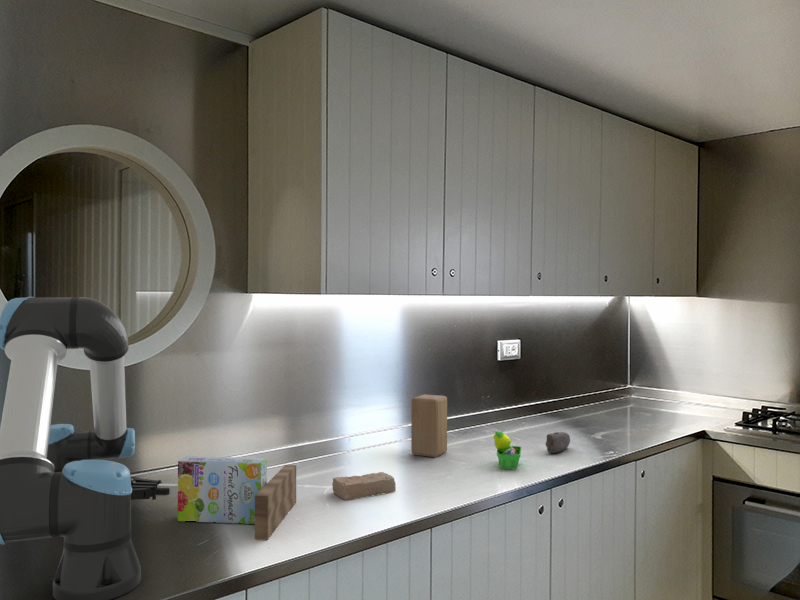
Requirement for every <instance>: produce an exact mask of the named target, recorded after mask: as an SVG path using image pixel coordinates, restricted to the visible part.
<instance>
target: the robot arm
mask: <svg viewBox="0 0 800 600" xmlns="http://www.w3.org/2000/svg"><path fill="white" fill-rule="evenodd" d="M0 349H1V350H3V351H4V353H5V355H6V357H7V358H8V359H9V360H10V364H9V365H10V366H9V371H8V372H9V373H8V379H7V384H6V389H5V398H4V403H3V410H2V415H1V421H0V545H6V544H11V543H12V544H13V543H18V542H26V541H34V540H35V541H36V540H43V539H52V538H59V537H62V538H63V551H62V554H61V557H60V560H59V563H58V566H57V569H56V572H55V574H54V578H53V581H52V596H53V598H54V599H55V600H113V599H116V598H118V597H121V596H123V595H125V594H128V593H130V592H131V591H132V590H134V589H135V588H136V587H138V586H139V584H140V583H141V580H142V567H141V563H140V561H139V559H138V555H137V552H136V550H135V546H134V544H133V542H132V501H136V500H149V499H151V498H152V501H155V500H157V497H172V498H173V497H174V498H175V497H176V498H178V483H162V480H161V479H159V480H156V479H147V478H140V477H139V478H138V477H136V476H131V471H130V469H129V468H128V466H126V465H125V464H123V463H119V462H116V461H114V460H113V459H116V460H117V459H123V458H128V457H132V456H134V455H135V451H136V430H135V429H134V428H133V427H132V428H131V427H127V404H126V375H125V374H126V373H125V372H126V371H125V356H127V355H128V353H129V337H128V333H127V330H126V328H125V326H124V324H123V322H122V321H121V319H120V317H119V316H118V315H117V314H116V313H115V312H114V311H113V310H112V309H111V308H110V307H109V306H107V305H106V304H104V303H103V302H101V301H99V300H97V299H95V298H91V297H85V296H84V297H83V296H79V297H35V296H27V297H14V298H12V299H10V300H8V301H7V302H6V304H5V305H4V307H3V309H2V311H1V313H0ZM75 349H77V350H78V349H83V355H84V356H85V358H87V359H88V360H89V373H90V388H91V400H92V415H93V427H94V428H93V429H94V430H81V431H75V427H74V425H73V424H70V423H57V424H52V414H53V404H54V395H55V389H56V380H57V370H58V364H59V363H60V362H62V361H63V360H64V359H65V358H66V356H67V352H68V350H75ZM110 459H111V460H110ZM112 460H113V461H112Z"/></svg>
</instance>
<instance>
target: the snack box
mask: <svg viewBox="0 0 800 600" xmlns="http://www.w3.org/2000/svg"><path fill="white" fill-rule="evenodd" d="M267 483H268V458H267V457H239V456H238V457H233V456H232V457H231V456H193V455H191V456H190V455H188V456H185V457H184V458H182V459H180V460H178V461H177V484H178V497H177V521H178V522H185V521H196V522H195V523H213V522H216V524H239V523H241V525H242V524H243V525H244V524H245V525H246V524H247V525H255V495H256V494H257V493H258V492H259V491H260V490H261V489H262V488H263V487H264V486H265V485H266V484H267Z"/></svg>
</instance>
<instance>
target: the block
mask: <svg viewBox="0 0 800 600" xmlns="http://www.w3.org/2000/svg"><path fill="white" fill-rule="evenodd" d="M410 411H411V414H410V415H411V420H410V421H411V426H410V428H411V429H410V430H411V435H410V437H411V442H410V443H411V450H410V451H411V452H410V453H411V455H414V456H419V457H420V456H421V457H428V458H438V457H439V456H441V455H443V454H445V453H447V451H448V397H447V396H446V395H437V394H425V393H424V394H421V395H418V396H415V397H412V398H411V409H410Z"/></svg>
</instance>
